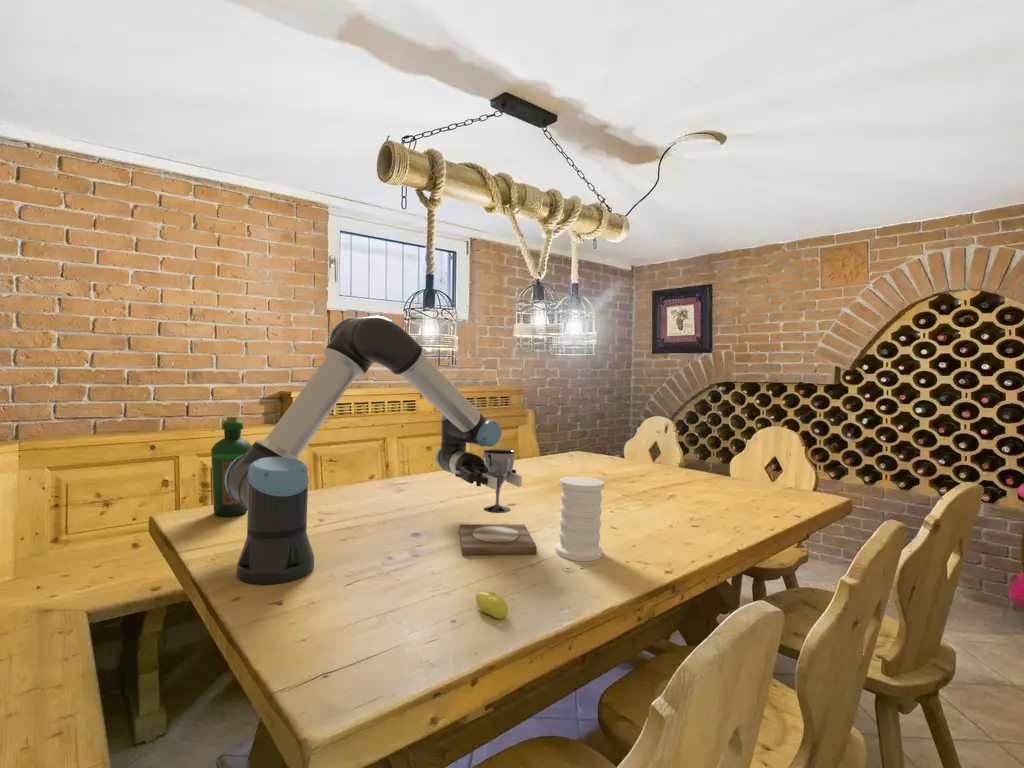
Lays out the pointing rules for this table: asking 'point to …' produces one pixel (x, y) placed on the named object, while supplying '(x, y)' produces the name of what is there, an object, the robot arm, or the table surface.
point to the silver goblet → (498, 473)
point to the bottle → (221, 459)
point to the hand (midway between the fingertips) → (508, 482)
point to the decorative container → (580, 518)
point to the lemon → (492, 604)
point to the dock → (496, 539)
